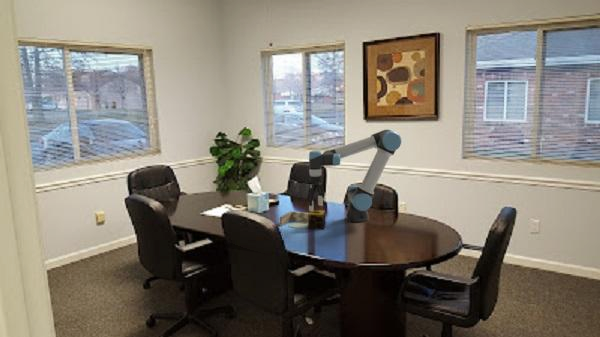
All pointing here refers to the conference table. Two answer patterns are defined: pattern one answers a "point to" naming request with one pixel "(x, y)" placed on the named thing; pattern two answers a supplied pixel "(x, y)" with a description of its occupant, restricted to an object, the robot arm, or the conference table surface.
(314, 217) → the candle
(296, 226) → the pad
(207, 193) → the conference table surface
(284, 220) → the arena
